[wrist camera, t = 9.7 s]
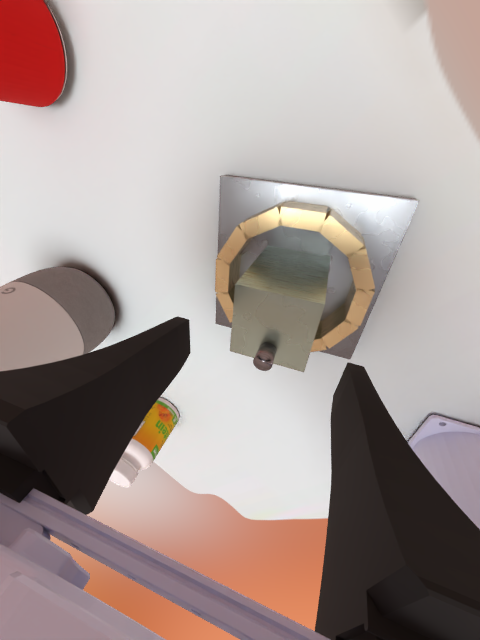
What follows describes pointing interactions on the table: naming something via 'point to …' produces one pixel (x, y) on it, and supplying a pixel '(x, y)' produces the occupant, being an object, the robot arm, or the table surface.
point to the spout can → (279, 307)
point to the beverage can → (30, 53)
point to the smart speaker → (52, 317)
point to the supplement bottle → (146, 442)
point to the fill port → (312, 246)
